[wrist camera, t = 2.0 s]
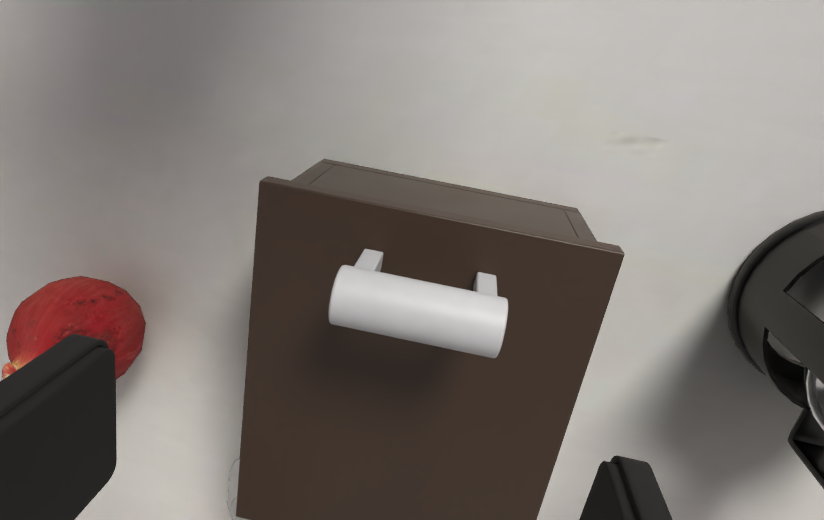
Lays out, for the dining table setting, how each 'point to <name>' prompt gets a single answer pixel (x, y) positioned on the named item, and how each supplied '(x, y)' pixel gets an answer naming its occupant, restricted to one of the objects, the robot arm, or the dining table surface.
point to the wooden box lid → (409, 359)
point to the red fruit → (76, 321)
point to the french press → (785, 328)
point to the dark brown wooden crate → (447, 198)
